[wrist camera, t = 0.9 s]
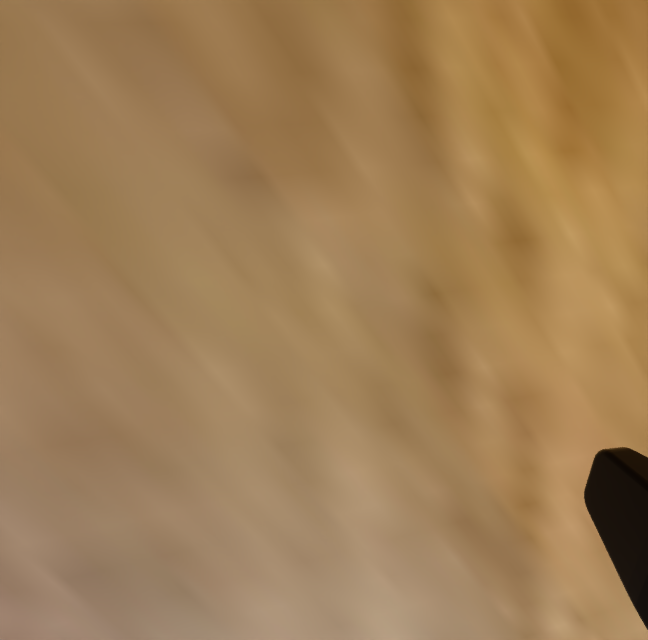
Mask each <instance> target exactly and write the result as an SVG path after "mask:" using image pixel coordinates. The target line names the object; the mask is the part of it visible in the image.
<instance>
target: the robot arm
mask: <svg viewBox="0 0 648 640" xmlns="http://www.w3.org/2000/svg"><path fill="white" fill-rule="evenodd" d="M584 499H585V504H586V507H587V510H588V512H589V514H590V516H591V518H592V520H593V522H594V524H595V527H596V529H597V531H598V533H599V535H600V537H601V539H602V541H603V543H604V545H605V547H606V550H607V552H608V554H609V556H610V558H611V560H612V562H613V564H614V566H615V568H616V571H617V573H618V575H619V577H620V579H621V581H622V583H623V585H624V587H625V589H626V591H627V593H628V595H629V597H630V599H631V601H632V603H633V605H634V607H635V609H636V610H637V612H638V614H639V616H640V618H641V619H642V621H643V623H644V625H645V626H646V628H647V630H648V457H646V456H644V455H642V454H640V453H638V452H636V451H634V450H632V449H630V448H626V447H620V448H611V449H603V450H600V451H599V452H598V453H597V454H596V455H595V458H594V461H593V464H592V467H591V471H590V474H589V477H588V480H587V484H586V487H585V491H584Z"/></svg>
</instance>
